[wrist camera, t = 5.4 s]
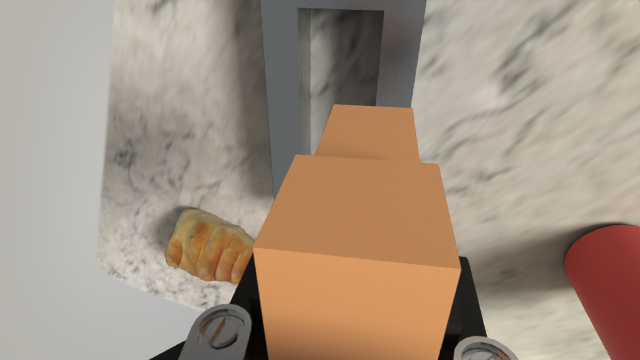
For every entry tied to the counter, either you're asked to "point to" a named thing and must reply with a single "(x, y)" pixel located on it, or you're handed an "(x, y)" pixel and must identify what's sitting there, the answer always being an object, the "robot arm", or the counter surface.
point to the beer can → (609, 286)
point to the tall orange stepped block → (358, 246)
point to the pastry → (209, 247)
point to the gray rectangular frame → (294, 67)
